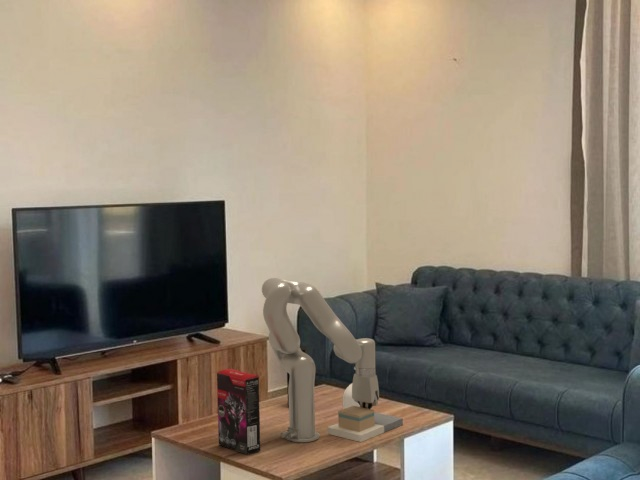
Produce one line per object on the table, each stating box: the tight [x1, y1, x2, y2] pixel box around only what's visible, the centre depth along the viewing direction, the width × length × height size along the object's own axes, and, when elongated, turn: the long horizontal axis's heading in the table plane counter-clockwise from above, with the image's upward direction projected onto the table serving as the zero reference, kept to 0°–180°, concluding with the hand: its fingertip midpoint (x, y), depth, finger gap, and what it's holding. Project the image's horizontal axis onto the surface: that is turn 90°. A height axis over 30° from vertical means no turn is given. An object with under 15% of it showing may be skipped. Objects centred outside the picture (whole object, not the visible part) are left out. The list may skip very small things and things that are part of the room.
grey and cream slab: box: [326, 411, 404, 443], centre depth 303 cm, size 26×16×2 cm, turn 139°
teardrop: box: [342, 383, 360, 409], centre depth 334 cm, size 11×11×12 cm
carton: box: [337, 406, 375, 432], centre depth 298 cm, size 9×10×6 cm
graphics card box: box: [216, 368, 261, 455], centre depth 283 cm, size 17×7×27 cm, turn 45°
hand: (366, 418), depth 303 cm, fingers closed
